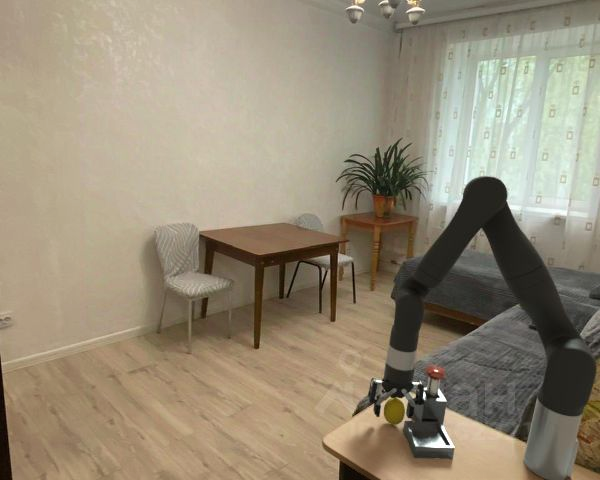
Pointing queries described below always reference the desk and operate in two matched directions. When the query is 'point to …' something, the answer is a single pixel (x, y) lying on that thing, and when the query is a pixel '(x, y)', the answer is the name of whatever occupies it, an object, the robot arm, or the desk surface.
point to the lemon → (394, 411)
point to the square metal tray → (428, 440)
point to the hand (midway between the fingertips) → (392, 415)
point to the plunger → (434, 380)
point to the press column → (431, 409)
